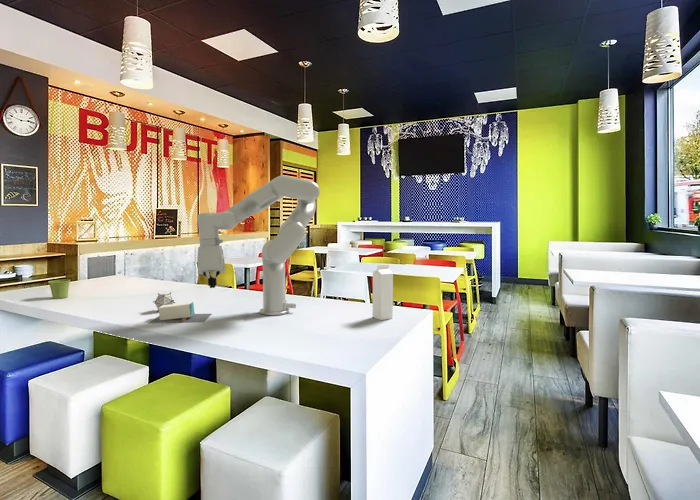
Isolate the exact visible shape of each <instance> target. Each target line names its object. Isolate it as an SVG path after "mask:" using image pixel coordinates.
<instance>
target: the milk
mask: <svg viewBox="0 0 700 500" xmlns="http://www.w3.org/2000/svg"><path fill="white" fill-rule="evenodd" d="M389 267H390V266H389V264H380V265H379V264H378V265H377V266H376V269H375V270H374V271H373V272H372V318H373V317H374V318H373V319H376V320H378V321H384V320H391V319H393V314H394V313H393V309H394V307H393V306H394V305H393V304H394V303H393V301H394V300H393V299H394V297H393V296H394V295H393V294H394V273H393V271H392V270H391V269H390V268H389Z"/></svg>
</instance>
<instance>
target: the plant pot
mask: <svg viewBox="0 0 700 500" xmlns="http://www.w3.org/2000/svg"><path fill="white" fill-rule="evenodd" d="M70 282H71V279H55V280H49V281H47V284H48V285H49V288H50V292H51V296H52V299H55V300H58V299H61V298H62V299H66V298H68V297H69V288H70V287H69V286H70Z"/></svg>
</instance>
